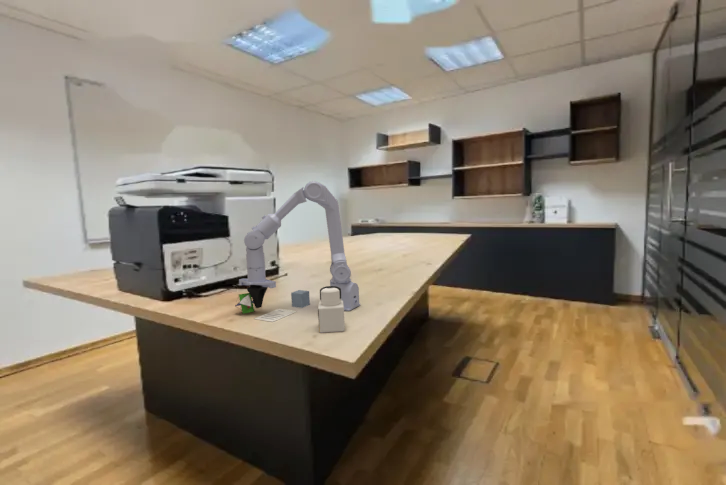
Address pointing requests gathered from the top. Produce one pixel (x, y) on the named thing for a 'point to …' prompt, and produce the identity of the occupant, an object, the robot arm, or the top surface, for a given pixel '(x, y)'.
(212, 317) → the top surface
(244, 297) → the geometric puzzle
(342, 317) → the medicine bottle
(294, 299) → the slate cube
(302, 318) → the top surface
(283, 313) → the letter
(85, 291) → the top surface
